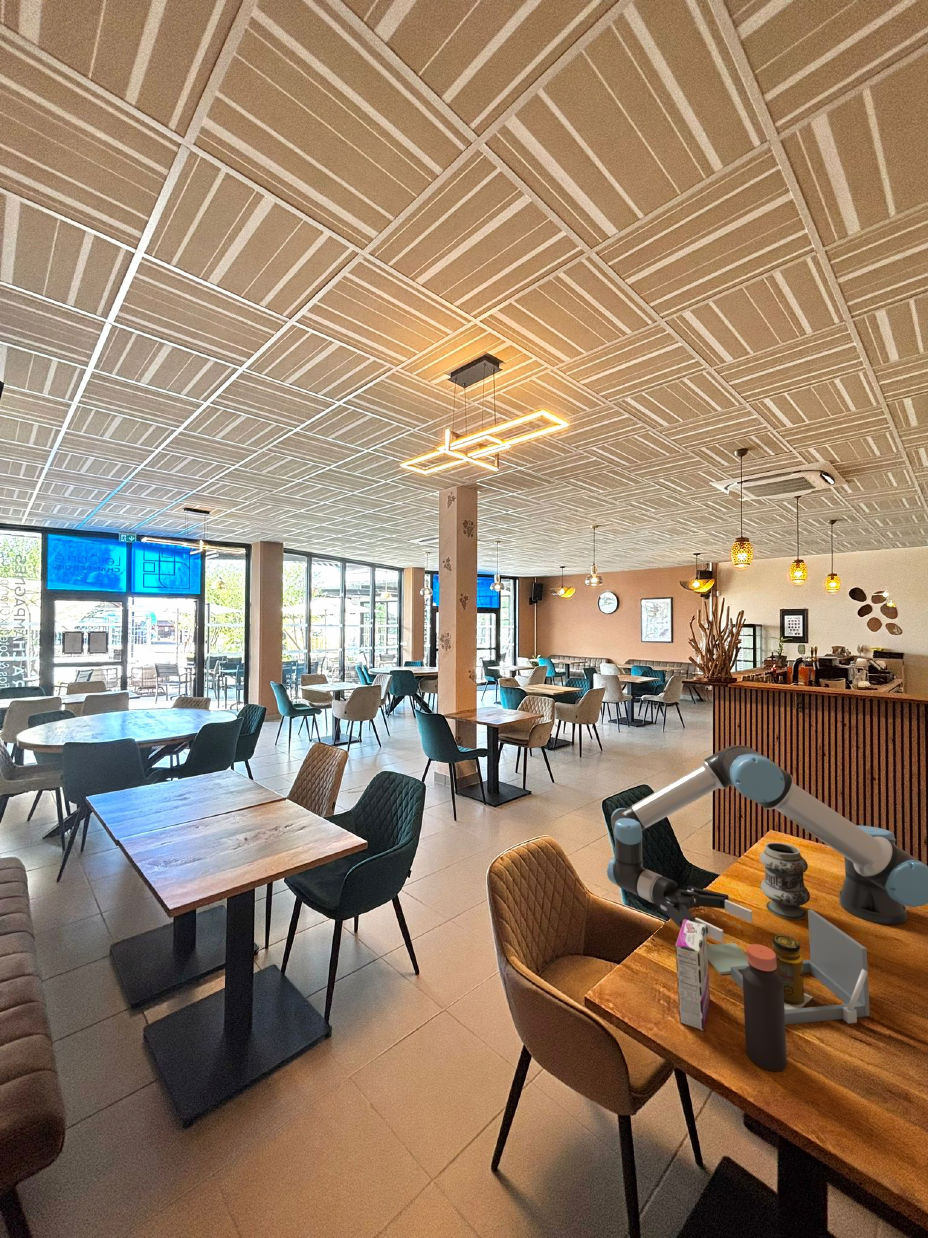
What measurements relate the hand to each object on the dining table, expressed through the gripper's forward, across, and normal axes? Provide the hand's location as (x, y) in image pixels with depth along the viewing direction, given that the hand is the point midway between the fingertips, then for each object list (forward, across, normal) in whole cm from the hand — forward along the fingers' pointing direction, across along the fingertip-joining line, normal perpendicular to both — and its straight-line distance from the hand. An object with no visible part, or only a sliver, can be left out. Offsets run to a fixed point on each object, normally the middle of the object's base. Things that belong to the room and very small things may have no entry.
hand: (737, 926), depth 121 cm
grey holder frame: (+11, -2, -11) cm, 15 cm away
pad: (-4, -3, -11) cm, 12 cm away
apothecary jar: (-5, -37, -11) cm, 39 cm away
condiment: (+10, 0, -11) cm, 15 cm away
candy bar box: (0, +20, -11) cm, 22 cm away
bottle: (+15, +20, -11) cm, 27 cm away
